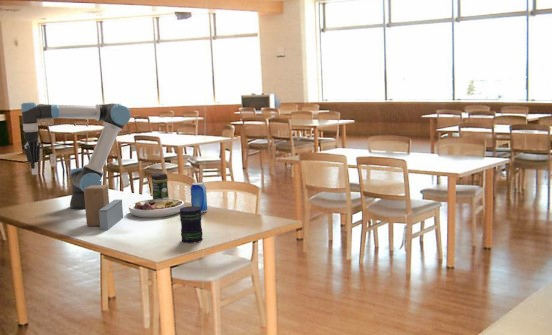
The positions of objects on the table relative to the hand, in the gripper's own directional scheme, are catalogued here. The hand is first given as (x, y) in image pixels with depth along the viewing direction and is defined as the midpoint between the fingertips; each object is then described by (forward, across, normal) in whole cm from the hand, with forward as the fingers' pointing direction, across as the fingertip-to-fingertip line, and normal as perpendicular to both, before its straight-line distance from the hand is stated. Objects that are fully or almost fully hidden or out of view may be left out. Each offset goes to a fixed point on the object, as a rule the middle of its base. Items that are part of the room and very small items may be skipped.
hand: (35, 174), depth 358 cm
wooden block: (+25, +10, +42) cm, 50 cm away
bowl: (+25, -18, +62) cm, 69 cm away
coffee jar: (+25, -40, +55) cm, 72 cm away
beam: (+24, +9, +49) cm, 55 cm away
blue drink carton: (+25, -21, +86) cm, 92 cm away
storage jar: (+25, +36, +103) cm, 112 cm away
